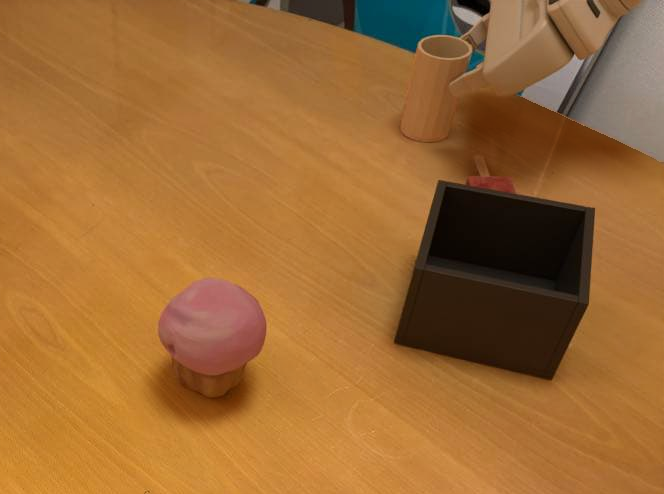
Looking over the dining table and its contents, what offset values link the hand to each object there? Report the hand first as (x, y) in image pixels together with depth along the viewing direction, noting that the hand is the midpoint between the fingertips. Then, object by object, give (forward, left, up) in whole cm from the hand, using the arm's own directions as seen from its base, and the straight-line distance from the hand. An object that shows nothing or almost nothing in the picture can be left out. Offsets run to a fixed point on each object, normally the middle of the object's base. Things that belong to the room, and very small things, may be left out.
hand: (455, 69), depth 97 cm
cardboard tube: (+1, +1, -7) cm, 8 cm away
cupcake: (+2, +50, -8) cm, 51 cm away
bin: (-15, +29, -7) cm, 33 cm away
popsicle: (-10, +11, -8) cm, 17 cm away
